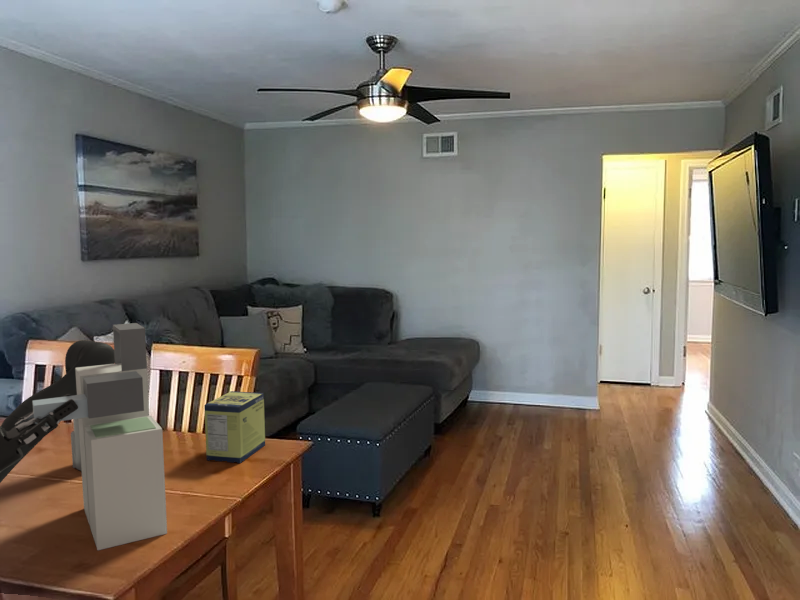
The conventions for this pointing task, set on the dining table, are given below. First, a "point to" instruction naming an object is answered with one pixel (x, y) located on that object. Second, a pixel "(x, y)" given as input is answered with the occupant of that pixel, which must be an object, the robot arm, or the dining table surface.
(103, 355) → the robot arm
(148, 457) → the grey stepped fixture
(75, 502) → the dining table surface
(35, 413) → the plug
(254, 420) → the protein box
